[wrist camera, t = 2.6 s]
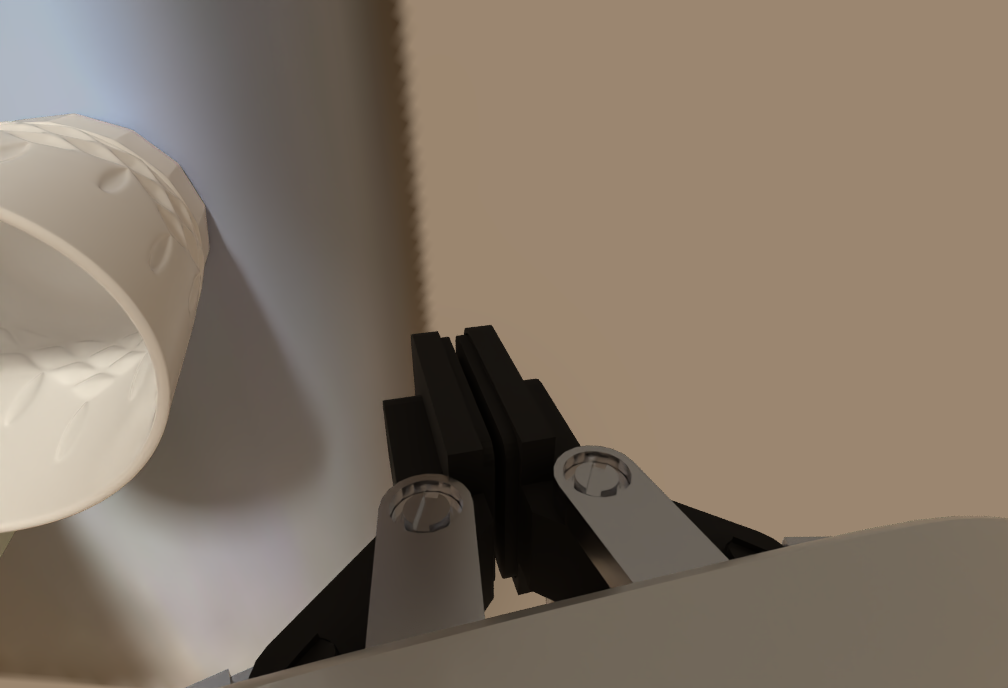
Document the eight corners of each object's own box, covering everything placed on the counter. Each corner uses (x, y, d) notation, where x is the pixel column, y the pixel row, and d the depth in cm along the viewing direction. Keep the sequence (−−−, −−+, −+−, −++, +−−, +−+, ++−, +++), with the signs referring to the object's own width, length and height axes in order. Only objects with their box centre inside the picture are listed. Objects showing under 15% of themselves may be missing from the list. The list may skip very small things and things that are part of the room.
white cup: (180, 356, 22) (98, 566, 14) (-84, 268, 18) (-412, 483, 10) (265, 176, 20) (230, 299, 12) (-16, 33, 16) (-366, 63, 8)
